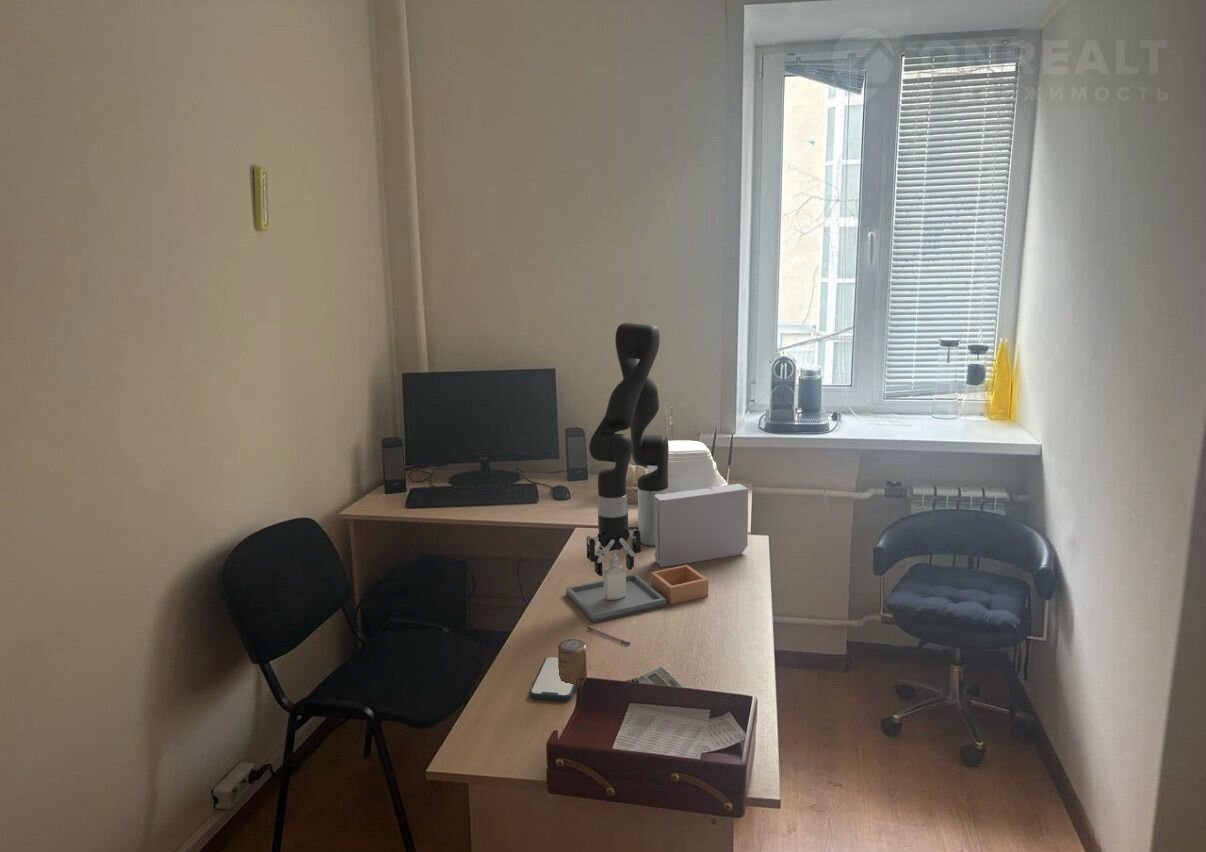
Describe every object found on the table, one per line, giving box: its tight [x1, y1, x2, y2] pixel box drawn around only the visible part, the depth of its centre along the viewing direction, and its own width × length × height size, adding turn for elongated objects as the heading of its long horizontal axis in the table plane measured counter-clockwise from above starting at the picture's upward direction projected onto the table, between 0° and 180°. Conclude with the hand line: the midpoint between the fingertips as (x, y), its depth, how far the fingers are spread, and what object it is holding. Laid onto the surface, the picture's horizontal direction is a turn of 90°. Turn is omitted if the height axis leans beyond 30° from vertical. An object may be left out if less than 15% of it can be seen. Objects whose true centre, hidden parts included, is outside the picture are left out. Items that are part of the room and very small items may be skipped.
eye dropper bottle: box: [603, 552, 627, 600], centre depth 202 cm, size 4×6×12 cm
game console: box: [654, 483, 749, 568], centre depth 228 cm, size 6×27×20 cm, turn 108°
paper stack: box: [646, 439, 729, 493], centre depth 257 cm, size 21×27×26 cm
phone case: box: [529, 656, 576, 703], centre depth 167 cm, size 9×2×16 cm
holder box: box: [650, 564, 709, 605], centre depth 207 cm, size 11×11×4 cm
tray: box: [565, 573, 667, 624], centre depth 204 cm, size 18×20×2 cm
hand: (614, 572), depth 202 cm, fingers open, 8 cm apart
